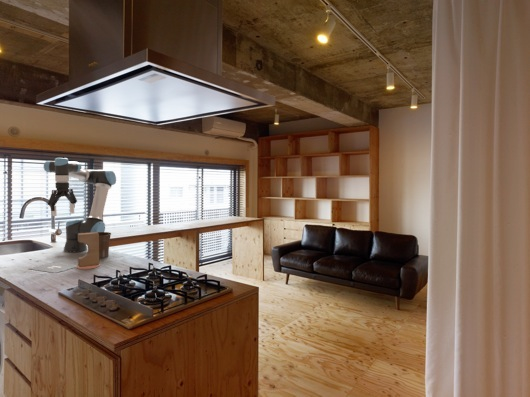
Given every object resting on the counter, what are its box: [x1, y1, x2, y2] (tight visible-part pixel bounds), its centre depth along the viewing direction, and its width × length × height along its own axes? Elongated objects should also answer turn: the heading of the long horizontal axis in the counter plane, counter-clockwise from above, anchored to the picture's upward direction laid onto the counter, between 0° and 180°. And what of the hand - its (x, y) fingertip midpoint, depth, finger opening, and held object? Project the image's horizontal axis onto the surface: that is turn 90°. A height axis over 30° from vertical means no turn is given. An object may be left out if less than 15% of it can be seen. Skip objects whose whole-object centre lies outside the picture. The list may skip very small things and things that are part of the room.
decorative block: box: [77, 232, 100, 267], centre depth 205 cm, size 11×6×20 cm, turn 125°
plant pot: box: [97, 231, 112, 259], centre depth 228 cm, size 16×16×16 cm
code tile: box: [29, 262, 78, 274], centre depth 200 cm, size 16×22×1 cm
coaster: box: [75, 262, 101, 270], centre depth 205 cm, size 13×13×1 cm
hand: (63, 214), depth 214 cm, fingers open, 13 cm apart
